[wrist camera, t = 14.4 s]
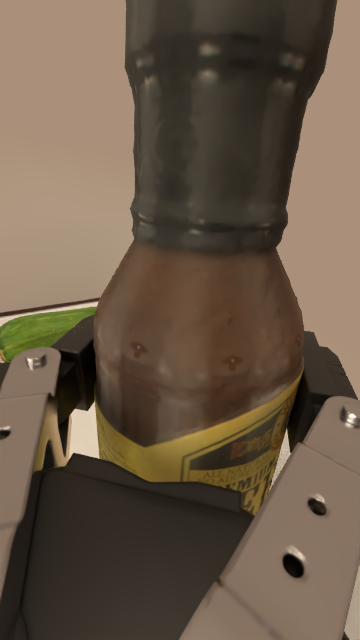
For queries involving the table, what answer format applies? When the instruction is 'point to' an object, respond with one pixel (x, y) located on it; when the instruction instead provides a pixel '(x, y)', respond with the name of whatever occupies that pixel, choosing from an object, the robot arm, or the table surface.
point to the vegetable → (38, 330)
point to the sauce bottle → (208, 243)
